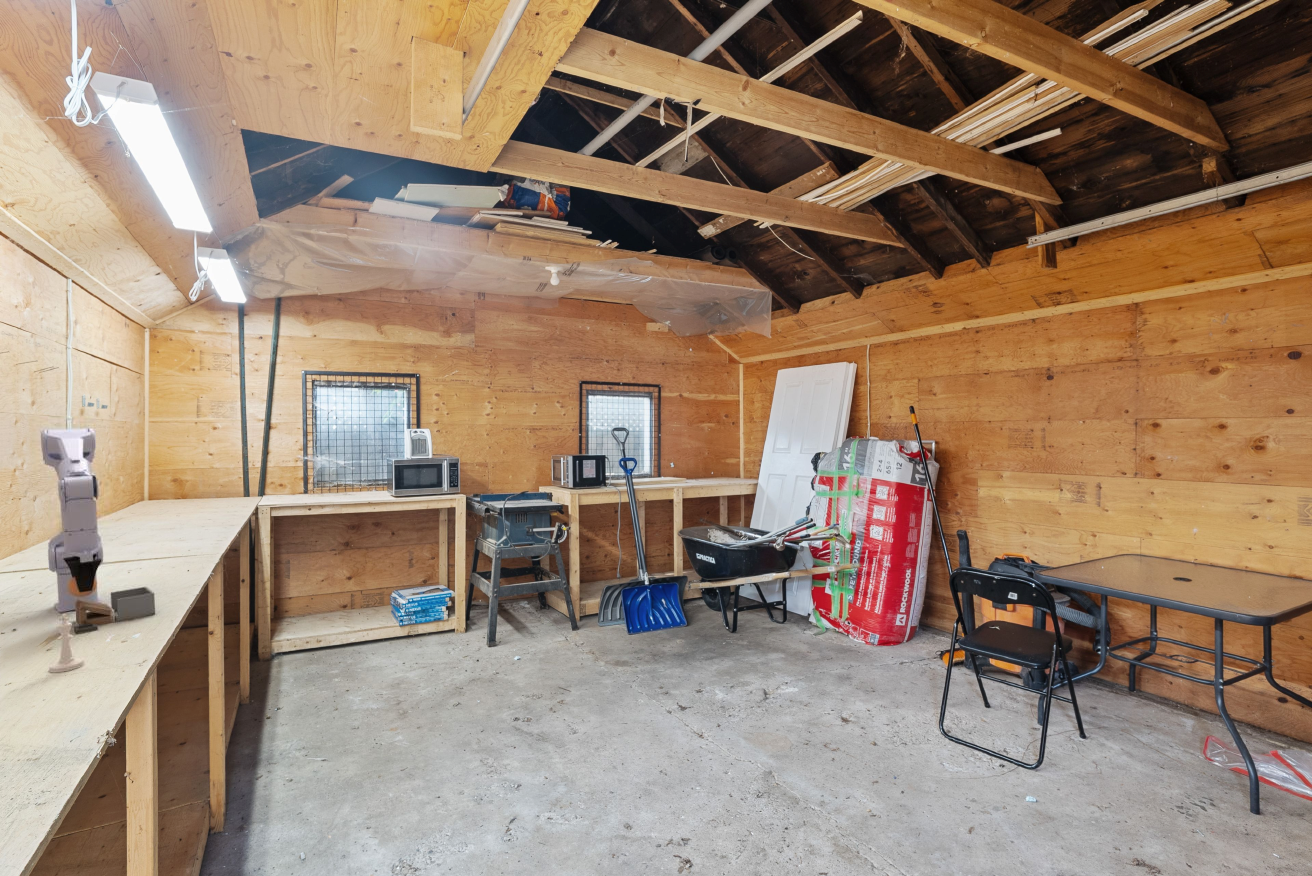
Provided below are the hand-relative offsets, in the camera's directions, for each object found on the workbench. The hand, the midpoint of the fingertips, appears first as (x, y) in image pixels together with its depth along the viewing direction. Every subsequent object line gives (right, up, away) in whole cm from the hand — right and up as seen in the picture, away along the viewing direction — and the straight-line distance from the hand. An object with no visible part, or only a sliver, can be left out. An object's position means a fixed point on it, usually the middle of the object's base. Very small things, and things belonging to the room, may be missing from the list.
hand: (83, 589), depth 145 cm
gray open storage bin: (+6, -7, +7) cm, 11 cm away
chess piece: (+19, -9, -25) cm, 33 cm away
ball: (0, +1, 0) cm, 1 cm away
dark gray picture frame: (+4, -8, -5) cm, 10 cm away
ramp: (+1, -8, +2) cm, 8 cm away
